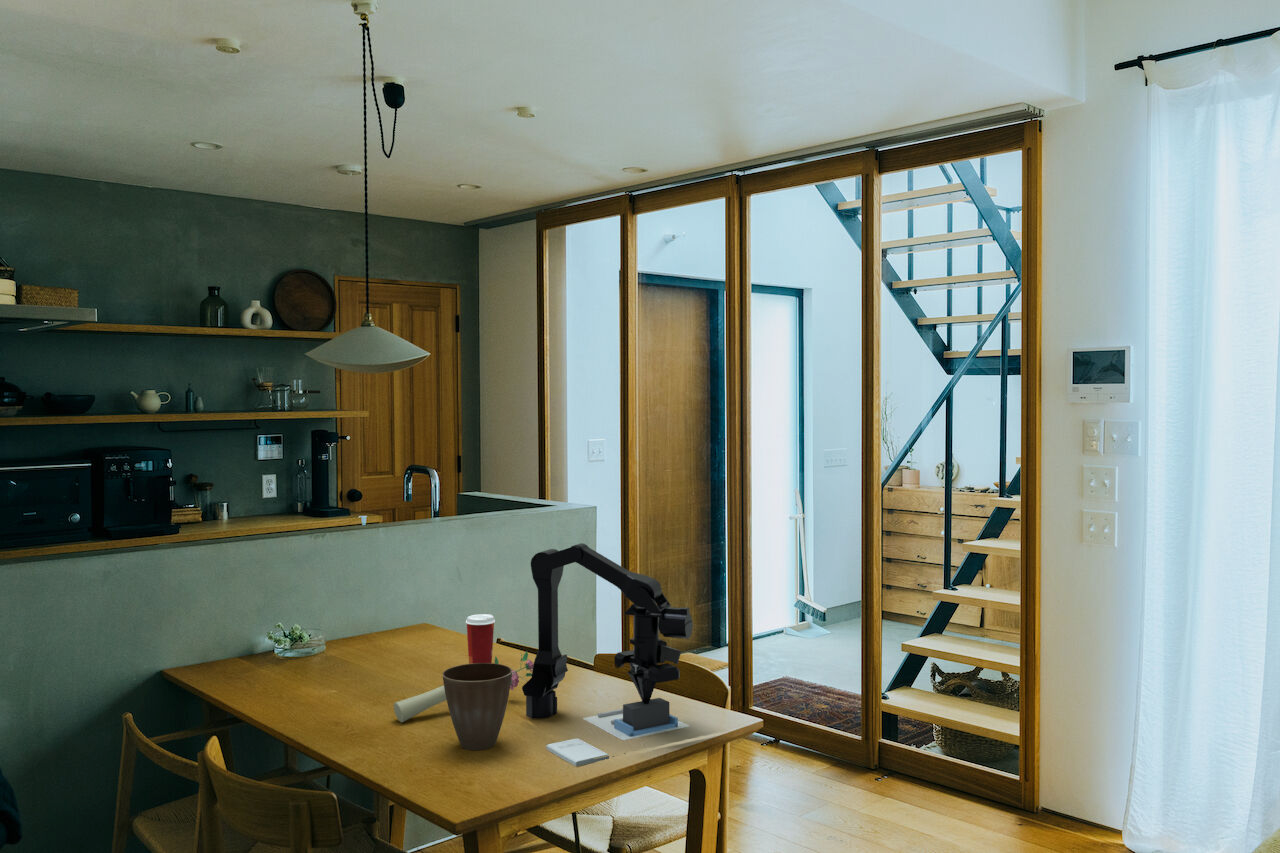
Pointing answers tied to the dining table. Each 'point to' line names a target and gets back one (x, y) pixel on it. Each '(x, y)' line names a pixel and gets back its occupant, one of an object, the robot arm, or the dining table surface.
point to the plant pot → (477, 702)
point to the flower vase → (443, 695)
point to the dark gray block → (646, 714)
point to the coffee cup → (480, 638)
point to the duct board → (623, 731)
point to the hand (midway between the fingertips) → (646, 703)
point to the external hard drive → (576, 752)
